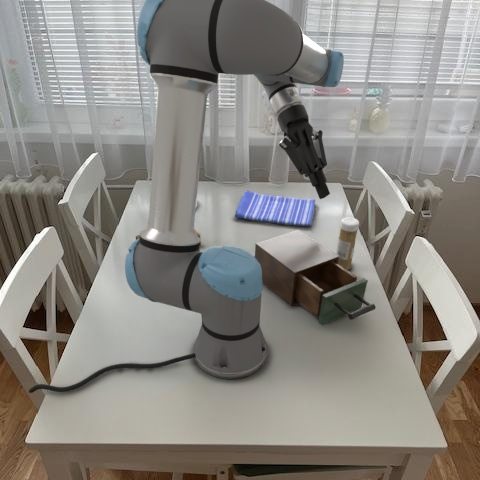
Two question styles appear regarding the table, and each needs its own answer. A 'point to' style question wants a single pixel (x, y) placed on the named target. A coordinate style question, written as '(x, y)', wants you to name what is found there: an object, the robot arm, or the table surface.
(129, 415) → the table surface
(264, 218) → the dish towel
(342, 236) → the sprinkles bottle
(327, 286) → the drawer
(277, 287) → the cabinet
